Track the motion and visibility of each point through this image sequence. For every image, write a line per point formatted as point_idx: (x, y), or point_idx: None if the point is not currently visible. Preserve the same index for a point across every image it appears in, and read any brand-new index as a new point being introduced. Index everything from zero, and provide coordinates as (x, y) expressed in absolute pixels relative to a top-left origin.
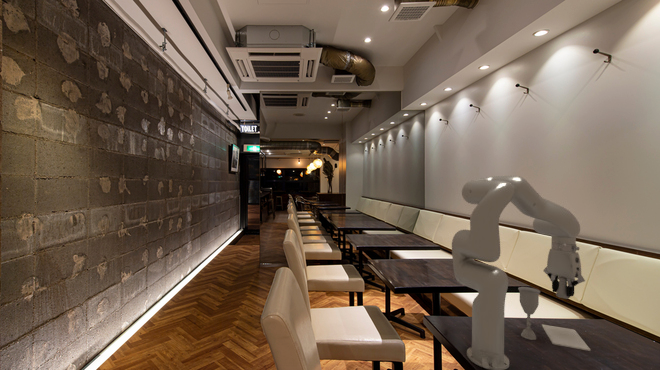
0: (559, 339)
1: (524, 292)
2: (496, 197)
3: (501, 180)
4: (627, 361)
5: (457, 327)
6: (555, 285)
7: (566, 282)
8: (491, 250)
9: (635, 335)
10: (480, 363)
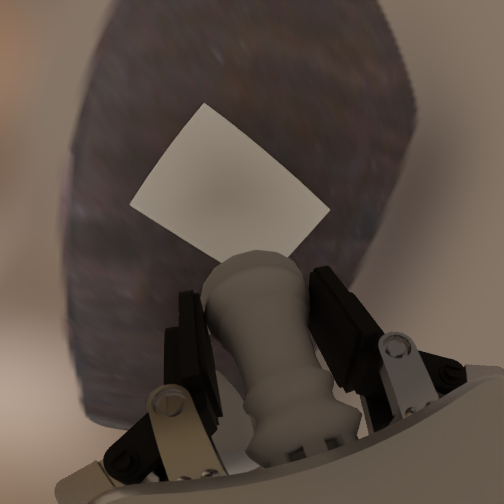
0: (250, 247)
1: (233, 470)
2: None
3: None
4: (392, 164)
5: (138, 411)
6: (216, 386)
7: (333, 397)
8: None
9: None
10: None
